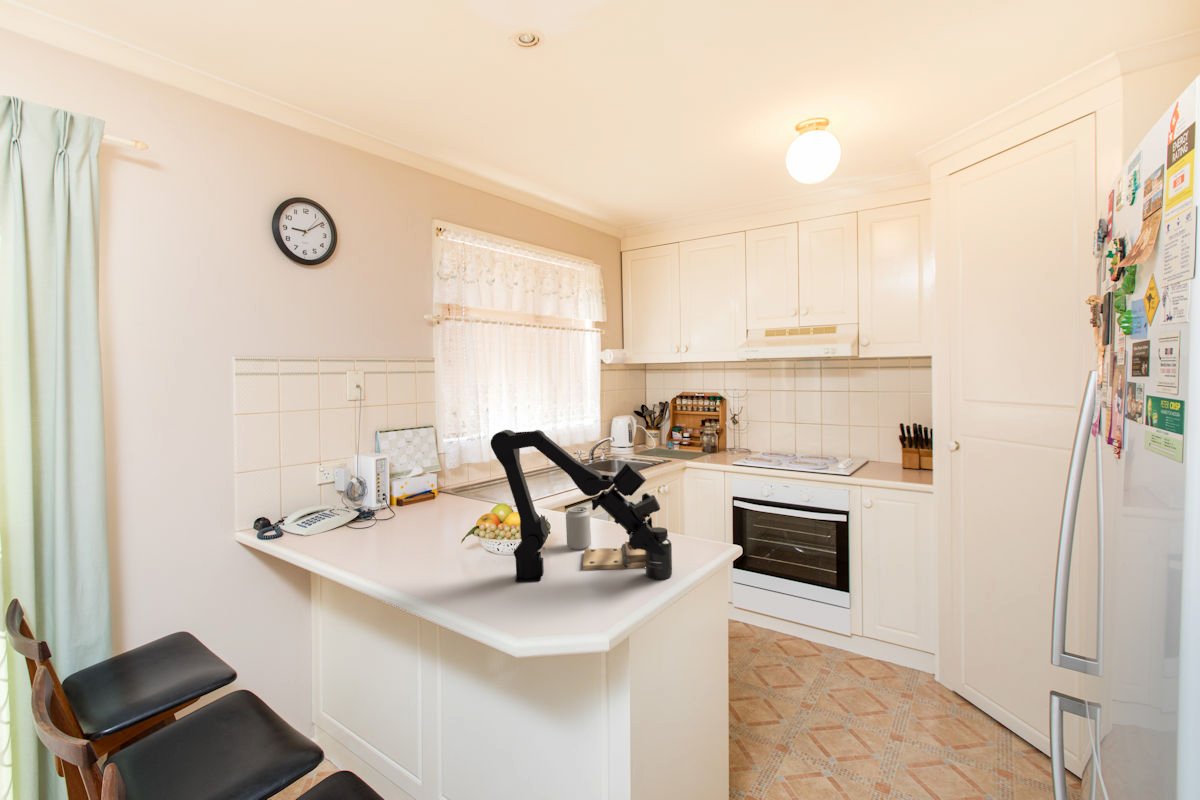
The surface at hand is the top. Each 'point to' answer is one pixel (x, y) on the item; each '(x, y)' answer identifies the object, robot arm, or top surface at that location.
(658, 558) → the supplement bottle
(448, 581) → the top surface
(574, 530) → the can
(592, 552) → the hinge jig
